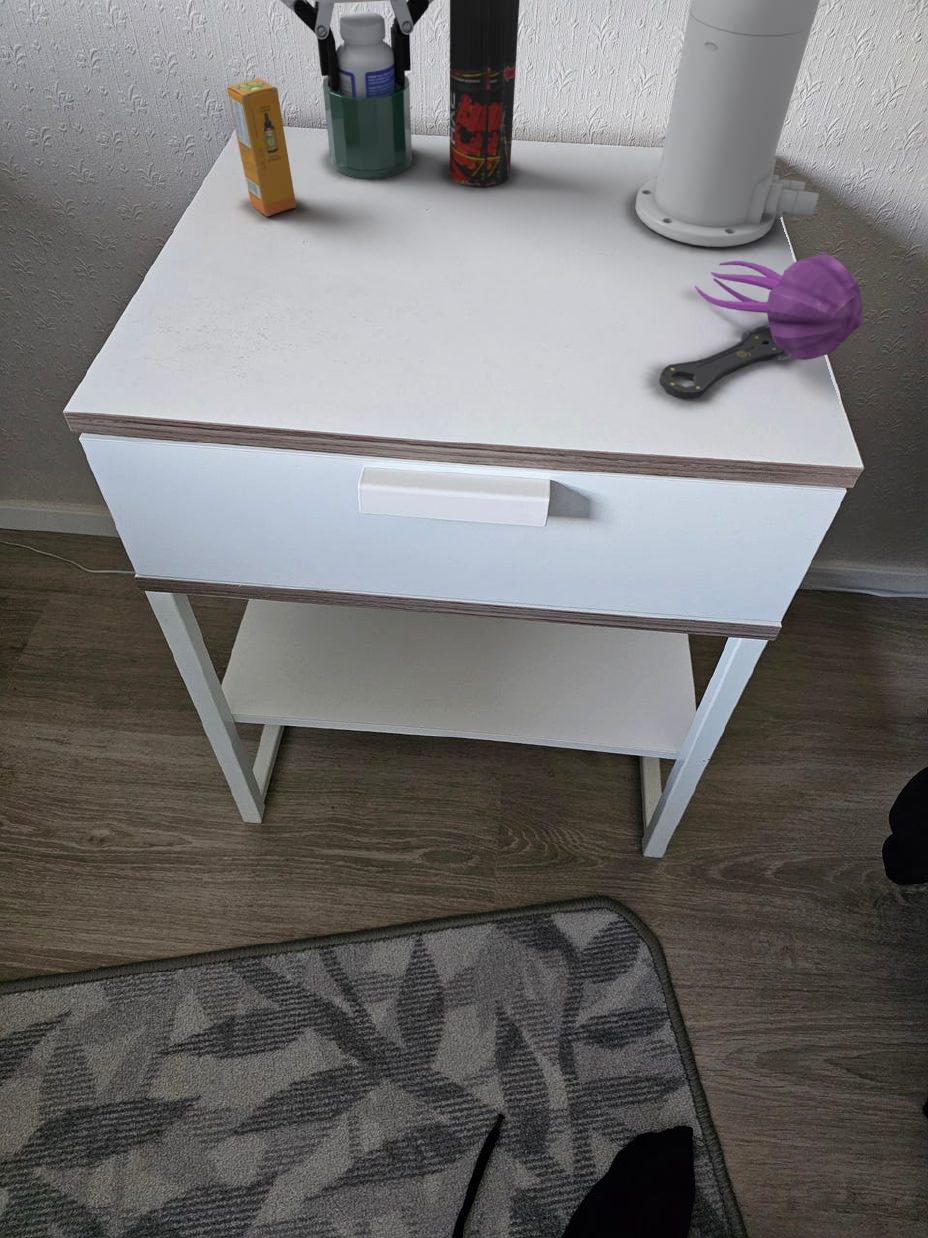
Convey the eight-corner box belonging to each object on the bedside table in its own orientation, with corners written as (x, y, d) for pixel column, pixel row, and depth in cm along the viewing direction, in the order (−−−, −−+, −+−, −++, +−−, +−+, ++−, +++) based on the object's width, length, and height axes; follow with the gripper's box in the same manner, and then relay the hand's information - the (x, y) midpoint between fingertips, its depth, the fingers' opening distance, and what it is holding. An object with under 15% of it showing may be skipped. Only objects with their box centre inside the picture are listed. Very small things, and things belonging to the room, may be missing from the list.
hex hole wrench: (689, 400, 60) (687, 407, 60) (873, 316, 67) (870, 323, 67) (648, 369, 62) (646, 376, 62) (830, 290, 69) (827, 297, 69)
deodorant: (437, 169, 83) (435, -15, 71) (485, 154, 85) (491, -27, 73) (473, 192, 80) (478, 4, 68) (522, 176, 82) (534, -9, 71)
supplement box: (279, 194, 79) (260, 74, 71) (297, 208, 78) (280, 87, 70) (247, 203, 78) (225, 82, 70) (265, 218, 76) (244, 96, 68)
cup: (422, 149, 86) (421, 72, 80) (394, 184, 81) (390, 103, 75) (350, 138, 87) (343, 61, 82) (318, 171, 82) (308, 91, 77)
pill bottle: (401, 125, 84) (397, 9, 76) (393, 149, 80) (388, 30, 73) (347, 122, 84) (338, 6, 76) (337, 145, 81) (326, 26, 73)
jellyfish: (724, 211, 66) (877, 243, 55) (749, 281, 71) (895, 324, 60) (661, 269, 67) (801, 313, 55) (690, 335, 71) (825, 388, 60)
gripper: (236, -173, 61) (276, 103, 75) (468, -178, 63) (464, 91, 77) (232, -192, 65) (270, 72, 80) (449, -196, 68) (448, 61, 82)
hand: (366, 79), depth 78 cm, fingers closed on pill bottle, 5 cm apart
